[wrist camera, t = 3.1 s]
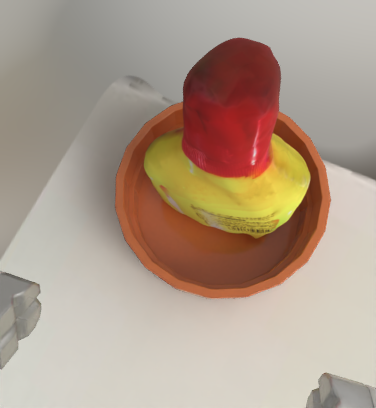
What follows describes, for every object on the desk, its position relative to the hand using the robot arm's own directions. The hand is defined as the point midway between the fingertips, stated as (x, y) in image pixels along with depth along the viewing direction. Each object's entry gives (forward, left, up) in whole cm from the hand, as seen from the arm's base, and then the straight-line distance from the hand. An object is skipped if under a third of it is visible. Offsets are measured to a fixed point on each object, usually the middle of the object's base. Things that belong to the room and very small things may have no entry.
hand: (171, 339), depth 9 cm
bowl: (0, +10, -21) cm, 24 cm away
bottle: (0, +10, -21) cm, 23 cm away
